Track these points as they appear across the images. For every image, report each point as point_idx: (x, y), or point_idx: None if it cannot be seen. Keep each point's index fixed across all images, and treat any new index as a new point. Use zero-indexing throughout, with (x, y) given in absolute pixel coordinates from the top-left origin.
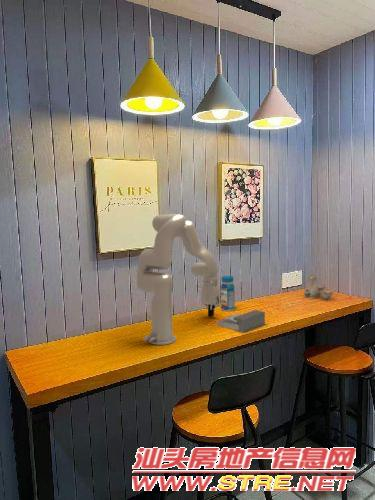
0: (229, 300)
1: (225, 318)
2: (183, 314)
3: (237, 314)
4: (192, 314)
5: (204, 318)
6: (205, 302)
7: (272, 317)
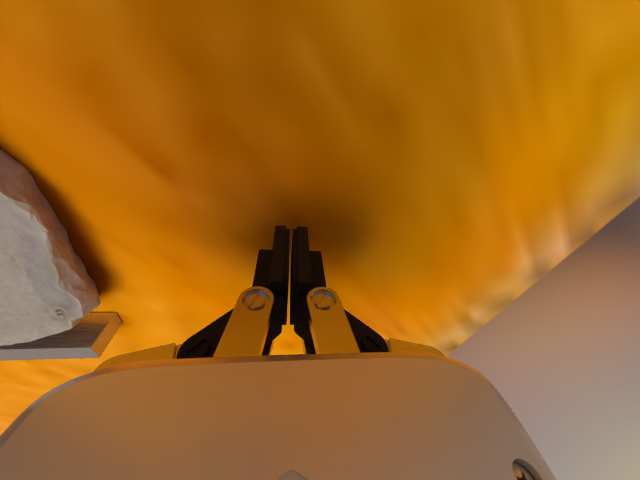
0: None
1: (41, 238)
2: (599, 180)
3: (78, 352)
4: (503, 225)
5: (336, 189)
6: (360, 384)
7: (21, 407)
